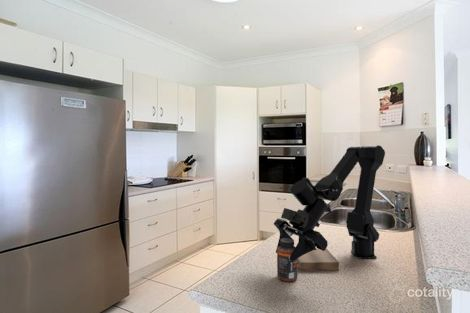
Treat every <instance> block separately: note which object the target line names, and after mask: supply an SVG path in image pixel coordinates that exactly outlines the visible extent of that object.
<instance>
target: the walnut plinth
mask: <svg viewBox="0 0 470 313" xmlns="http://www.w3.org/2000/svg"><path fill="white" fill-rule="evenodd" d="M297 259H298V260H297V262H298V263H297V266H298V268H299V270H300V271H339V270H340V262H339V261H338V259H336V257H335V256H334V255H333V254H332V252H330V250H329V249H328V248H326V249H325V251H322V250H320V249H318V248H316V250H312V251H310V252H308V253H306V254H304V255H302V256H301V257H299V258H297Z"/></svg>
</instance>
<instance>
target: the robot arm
mask: <svg viewBox="0 0 470 313" xmlns="http://www.w3.org/2000/svg"><path fill="white" fill-rule="evenodd" d="M345 151H346V152H345V153H344V155H343V156H342V158H341V159H340V160H339V161H338V162H337V164H336V165H335V166H334V168H333V169H332V170H331V171H330V173H329V174H328V175H326V176H323V177H322V178H321V179H319V181H317V182H316V183H315V185H313V183H312V182H311V180H310V178H308V177H302V178H301V179H300V180H298V181H296V182H294V183H293V184H292V185H291V187H290V189H289V191H290V193H291V194H292V196H293V197H294V198H295V199H296V200H297V201H298V203H300V205H301V206H304V208H303V209H298V210H297V211H296V210H293V209H289V208H286V207H284V208H283V211H282V213H281V216H280V218H277V219H276V220H275V221H274V222H273V225H274V226H275V227H276V228H277V230H278V232H279V238H278V243H277V246H276V250H275V254H277V248H278V247H279V246H280V245H281V244H280V240H281V239H284V238H289V239H293V238H292V236H294V235H295V236H297V237H298V240H297V241H298V242H297V244H296V246H294V247H295V249H294V251H293V252H292V254H291V256H290V258H289V260H290V261H294V260H295V259H297V258H299V257H301V256H302V255H304V254H306V253H308V252H310V251H312V250H316V249H320V250H322V251H325V249H328V244H329V243H328V239H326V238H325V237H324V236H323V234H322V233H321V232H320V231H317V230H315V227H317V228H319V227H320V226H321V224H320V223H319V221H320V220H321V219H322V217H323V216H324V213H329V214H331V213H332V210H331V209H332V208H331V204H330V203H326V201H329V202H336V201H337V200H338V199H339V198H340V196H341V193H342V192H343V190H344V182H345V180H346V179H347V178H348V176H349V175H350V174H351V172H352V171H353V169H354V168H355V166H356V165H357V164H358V165H359V167H360V174H359V180H358V186H357V193H356V200H355V205H354V208H353V209H352V211H348V212H347V216H346V221H345V224H346V229H347V231H348V236H350V237H352V241H351V250H350V252H351V253H352V254H353V255H354V256H355V257H356V258H357V259H377V258H378V257H377V255H375V243H377V241H379V238H380V233H379V232H378V231H377V228H375V226H374V222H375V220H374V218H373V215H372V213H371V212H372V211H371V209H372V208H371V207H372V201H373V195H374V187H375V182H376V176H377V171H378V169H380V167H382V165H383V163H384V159H385V155H386V151H385V149H384V148H383V146H381V145H376V144H375V145H362V146H350V147H347V149H346V150H345ZM288 221H289V222H288Z"/></svg>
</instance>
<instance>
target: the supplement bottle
mask: <svg viewBox="0 0 470 313" xmlns="http://www.w3.org/2000/svg"><path fill="white" fill-rule="evenodd" d="M280 244H281V245H280V246H279V247H278V248H277V247H276V249H277V253H276V254H277V255H276V263H277V264H276V270H277V271H276V272H277V276H276V277H277V278H278V279H279V280H280V281H283V282H289V283H290V282H294V281H297V279H298V275H299V274H298V268H299V266H298V264H297V263H298V262H297V260H298V259H295V260H294V261H290V260H289V258H290V256H291V254H292V252H293V251H294V249H295V247H296V246H295V240H294V239H293V238H292V239H289V238H284V239H281V240H280Z"/></svg>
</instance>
